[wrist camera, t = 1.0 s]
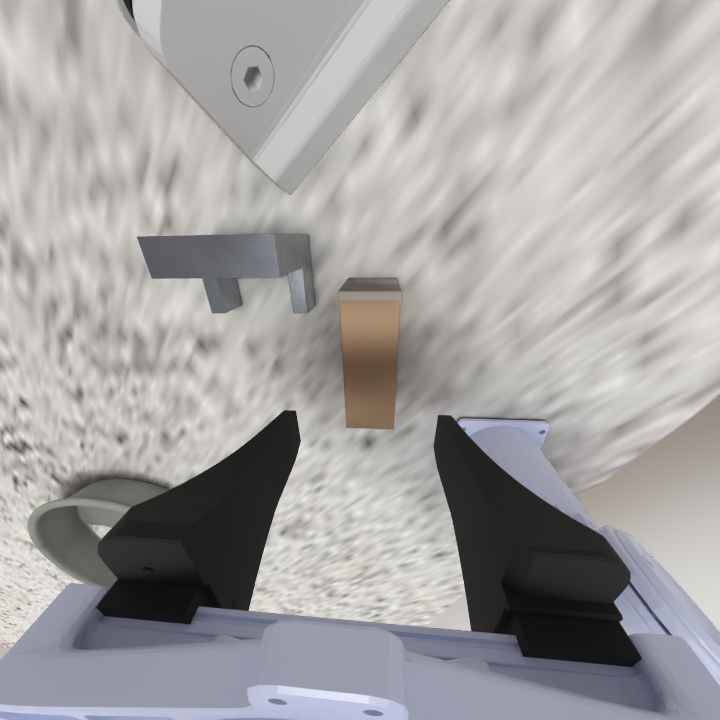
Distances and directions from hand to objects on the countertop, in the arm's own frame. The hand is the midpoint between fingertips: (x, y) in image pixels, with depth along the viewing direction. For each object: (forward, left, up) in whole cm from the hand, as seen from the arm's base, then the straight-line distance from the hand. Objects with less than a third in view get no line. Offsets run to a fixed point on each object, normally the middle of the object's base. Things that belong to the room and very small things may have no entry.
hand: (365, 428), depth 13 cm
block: (+1, 0, -10) cm, 10 cm away
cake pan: (-29, +31, -10) cm, 43 cm away
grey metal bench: (+6, +8, -10) cm, 14 cm away
